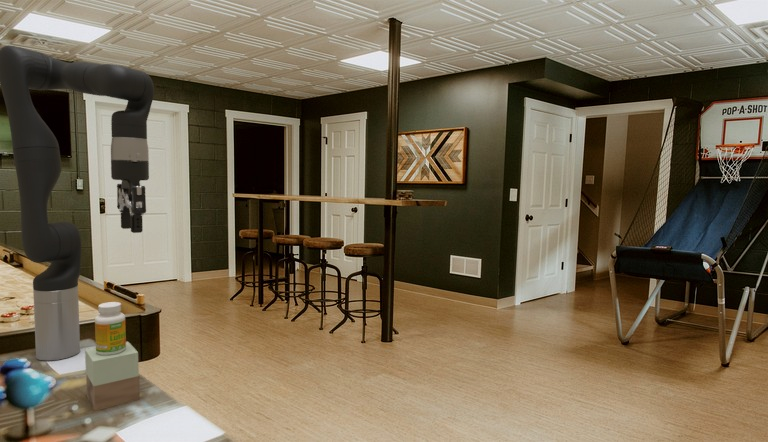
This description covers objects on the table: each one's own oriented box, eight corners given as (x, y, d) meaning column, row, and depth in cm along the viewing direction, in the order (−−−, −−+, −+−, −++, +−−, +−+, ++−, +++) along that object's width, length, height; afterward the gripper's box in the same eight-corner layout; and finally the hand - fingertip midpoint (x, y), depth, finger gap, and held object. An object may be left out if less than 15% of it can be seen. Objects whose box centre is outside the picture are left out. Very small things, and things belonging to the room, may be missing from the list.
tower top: (85, 372, 99) (85, 349, 99) (128, 363, 104) (128, 341, 104) (93, 386, 93) (93, 361, 93) (138, 376, 98) (138, 352, 98)
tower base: (86, 396, 100) (86, 372, 99) (129, 385, 105) (128, 363, 104) (95, 411, 94) (94, 386, 93) (139, 399, 99) (139, 375, 98)
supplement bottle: (111, 357, 95) (109, 309, 94) (89, 353, 96) (87, 306, 95) (132, 347, 100) (130, 302, 99) (111, 344, 102) (109, 299, 101)
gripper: (103, 158, 111) (105, 228, 112) (119, 157, 100) (121, 235, 102) (139, 159, 116) (140, 226, 117) (157, 159, 105) (158, 232, 107)
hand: (131, 230), depth 110 cm, fingers open, 8 cm apart
